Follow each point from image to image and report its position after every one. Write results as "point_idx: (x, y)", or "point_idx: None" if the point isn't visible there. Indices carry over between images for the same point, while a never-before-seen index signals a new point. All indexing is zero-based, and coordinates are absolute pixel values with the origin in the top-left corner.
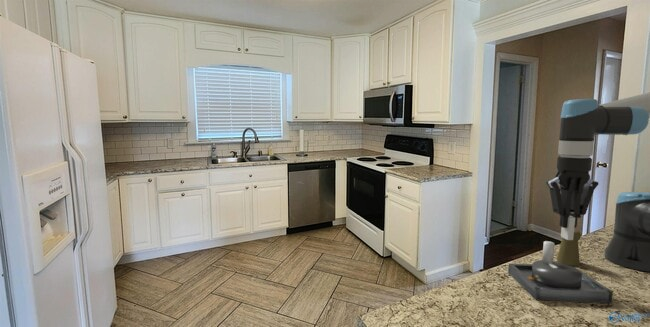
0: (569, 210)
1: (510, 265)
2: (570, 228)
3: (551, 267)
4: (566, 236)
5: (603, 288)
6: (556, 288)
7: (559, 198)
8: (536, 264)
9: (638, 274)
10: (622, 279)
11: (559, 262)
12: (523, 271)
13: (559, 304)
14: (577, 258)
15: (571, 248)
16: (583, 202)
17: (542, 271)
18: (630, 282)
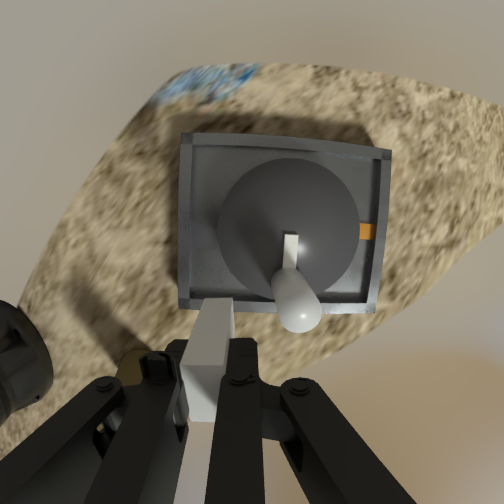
0: (224, 407)
1: (376, 301)
2: (218, 324)
3: (301, 242)
4: (232, 313)
5: (191, 152)
6: (336, 150)
7: (368, 492)
8: (336, 266)
9: (31, 295)
10: (72, 270)
11: (243, 284)
12: (347, 280)
13: (332, 130)
14: (127, 362)
15: (134, 384)
16: (73, 455)
17: (352, 210)
18: (65, 255)
